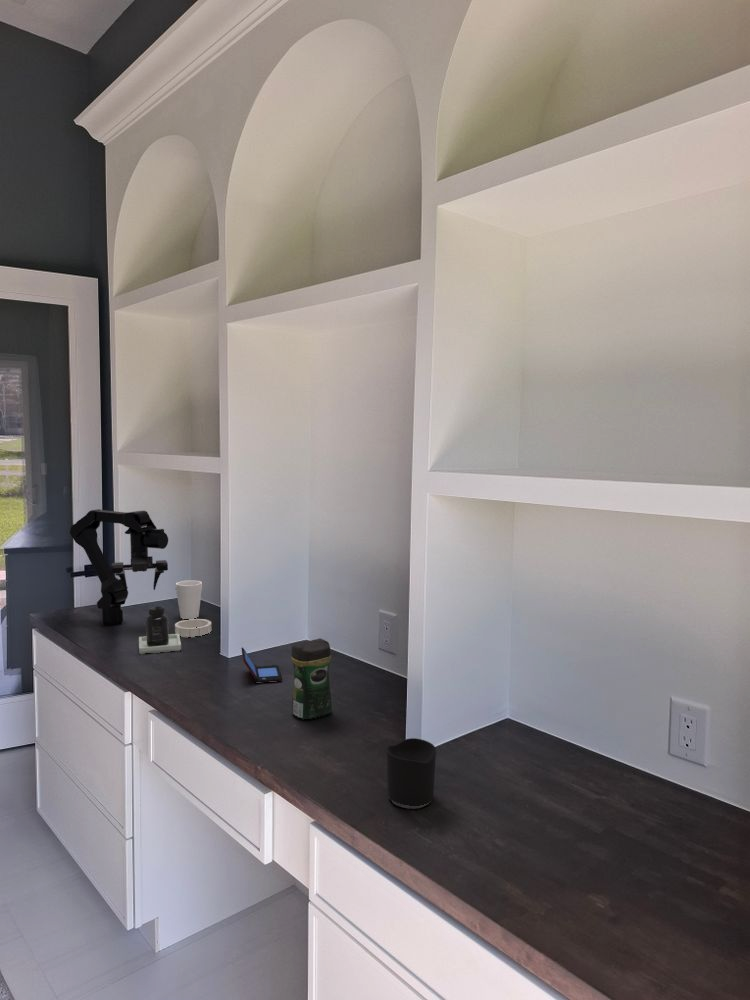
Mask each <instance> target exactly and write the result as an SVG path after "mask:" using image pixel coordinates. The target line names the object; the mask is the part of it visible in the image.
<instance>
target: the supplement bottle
mask: <svg viewBox="0 0 750 1000" xmlns="http://www.w3.org/2000/svg"><path fill="white" fill-rule="evenodd" d="M165 613H166V611H165V607H164V606H153V607H149V608H148V615H149V616H148V617H146V620H145V629H146V632H145V633H146V635H145V636H146V638H147V646H149V647H153V646H164V645H168V643H169V633H170V632H169V617H168V616H167V615H165Z"/></svg>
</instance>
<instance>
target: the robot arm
mask: <svg viewBox="0 0 750 1000" xmlns="http://www.w3.org/2000/svg"><path fill="white" fill-rule="evenodd" d="M101 522H102V523H113V524H120V525H122V526H124V527H126V528H128V529H127V530H125V531H124V534H125V535H129V536H130V538H129V540H130V541H129V543H130V564H129V563H128V564H124V562H112V563H111V565H109V563H108V561H107V559H106V557H105V556H104V553H103V551H102V549H101V547H100V546H99V544H98V532H97V530H98V528H99V527H100V525H101ZM69 534H70V537H71V538H72V539H73V541H74V543H76V544H77V545H78V546H80V547H81V548H82V549H83V550H84V552H85V553H86V556H87V557H88V560H89V562H90V563H91V565H92V568H93V570H94V571H95V573H96V576H97V577H98V579H99V582H100V584H101V585H100V593H101V597H100V599H98V600H97V601H96V606H97V608H98V609H101V611H102V612H101V613H102V614H101V615H102V624H101V625H102V626H116V625H122V623H123V621H124V610H123V609H124V608H122V605H125V604H126V600H127V599H128V595H129V590H128V588H129V587H128V584H127V578H126V571H132V572H133V573H137V572H147V571H148V570H151V569H154V575H153V576H154V577H153V591H155V590H156V587H157V584H158V582H159V581H158V580H159V578H160V576H161V575H162V574H164V573H165V572H166V571H169V569H168V568H169V566H168V564H169V563H168V561H167V560H166V559H164V560H162V559H161V560H159V559H158V560H155V562H153V561H154V560H153V556H151V555H150V556H149V549H160V550H164V549H166V548H167V546H168V545H169V536H168V534H167V533H166V532H165V529H164V528H159V529H158V528H157V527H156V525H155V523H154V522H153V520H152V518H151V516H150V515H149V513H148V511H146V510H136V511H128V512H124V511H115V510H105V509H100V508H98V509H92V510H89V511H88V512H87V513H86V514H85V515H83V517H82V518H80V519H78V520H77V521H76V522H75V523H74V524H72V525H71V527H70V530H69ZM114 574H115V575H114ZM117 576H118V577H119V578H117Z"/></svg>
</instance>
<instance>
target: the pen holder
mask: <svg viewBox="0 0 750 1000" xmlns="http://www.w3.org/2000/svg"><path fill="white" fill-rule="evenodd" d="M436 748H437V747H436V746H435V745H434V744H433V743H431V742H429V741H428V740H425V739H420V738H413V737H411V738H406V739H404V740H402V741H399V742H398V743H396V744H392V745H387V746H386V775H387V776H386V778H387V780H386V781H387V782H386V783H387V797H388V796H389V797H390V799H391V800H393V801H395V802H397V803H400V804H403V805H409V806H420V805H424V804H427V803H429V802H430V801H431V800H432V799H434V793H435V792H434V791H435V776H436V758H437V755H436V754H437V749H436ZM432 801H433V800H432Z"/></svg>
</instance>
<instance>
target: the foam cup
mask: <svg viewBox="0 0 750 1000" xmlns="http://www.w3.org/2000/svg"><path fill="white" fill-rule="evenodd" d="M202 589H203V582H202V581H201V580H196V579H195V580H193V579H192V580H191V579H189V580H187V579H186V580H181V581H177V582H176V583H175V590H176V595H177V596H176V598H177V603H178V610H179V615H180V619H181V618H182V620H184V619H194V618H196V619H198V618H199V616H200V615H199V613H200V608H201V607H200V606H201V597H202ZM197 617H198V618H197Z"/></svg>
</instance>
